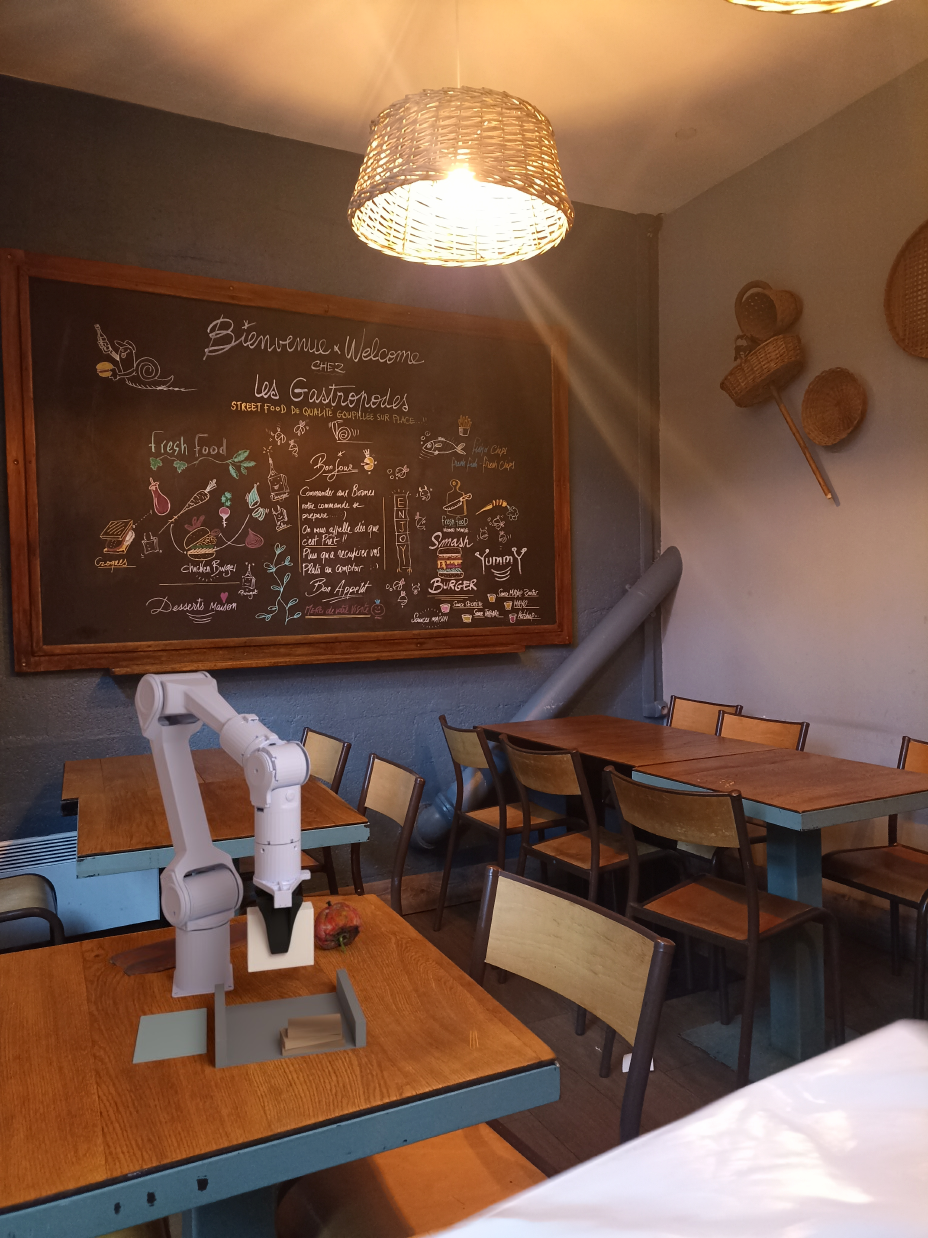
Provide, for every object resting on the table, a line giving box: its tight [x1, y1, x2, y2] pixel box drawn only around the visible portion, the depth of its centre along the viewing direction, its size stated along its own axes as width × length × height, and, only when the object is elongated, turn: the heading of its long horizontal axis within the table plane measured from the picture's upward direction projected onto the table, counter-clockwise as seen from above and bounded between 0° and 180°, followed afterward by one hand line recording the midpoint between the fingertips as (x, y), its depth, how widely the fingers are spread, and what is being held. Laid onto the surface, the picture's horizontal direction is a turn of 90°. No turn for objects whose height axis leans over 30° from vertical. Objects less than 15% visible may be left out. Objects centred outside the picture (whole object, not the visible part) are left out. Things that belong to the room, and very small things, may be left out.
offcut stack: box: [280, 1014, 345, 1056], centre depth 101 cm, size 4×7×2 cm, turn 107°
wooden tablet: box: [109, 921, 247, 977], centre depth 135 cm, size 27×10×2 cm, turn 135°
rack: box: [214, 968, 367, 1069], centre depth 106 cm, size 16×17×4 cm
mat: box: [132, 1007, 208, 1064], centre depth 104 cm, size 12×8×1 cm, turn 17°
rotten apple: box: [314, 900, 363, 955], centre depth 133 cm, size 7×7×10 cm
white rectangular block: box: [246, 901, 315, 973], centre depth 108 cm, size 3×8×7 cm, turn 107°
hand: (278, 947), depth 108 cm, fingers closed on white rectangular block, 3 cm apart
